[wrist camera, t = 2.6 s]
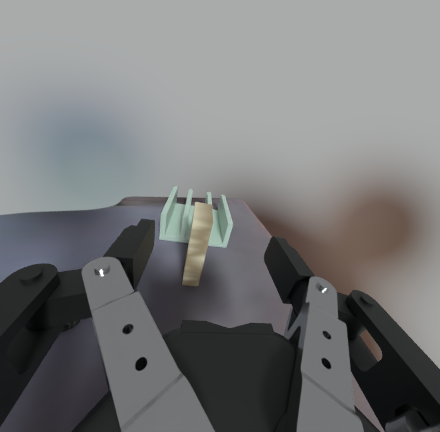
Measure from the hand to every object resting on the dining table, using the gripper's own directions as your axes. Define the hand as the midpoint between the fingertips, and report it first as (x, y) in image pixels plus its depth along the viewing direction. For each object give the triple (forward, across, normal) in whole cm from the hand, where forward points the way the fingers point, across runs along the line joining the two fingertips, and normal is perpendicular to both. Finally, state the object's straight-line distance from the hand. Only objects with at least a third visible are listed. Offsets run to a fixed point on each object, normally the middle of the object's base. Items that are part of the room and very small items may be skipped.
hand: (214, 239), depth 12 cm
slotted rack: (+28, 0, +15) cm, 31 cm away
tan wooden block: (+12, 0, +15) cm, 19 cm away
